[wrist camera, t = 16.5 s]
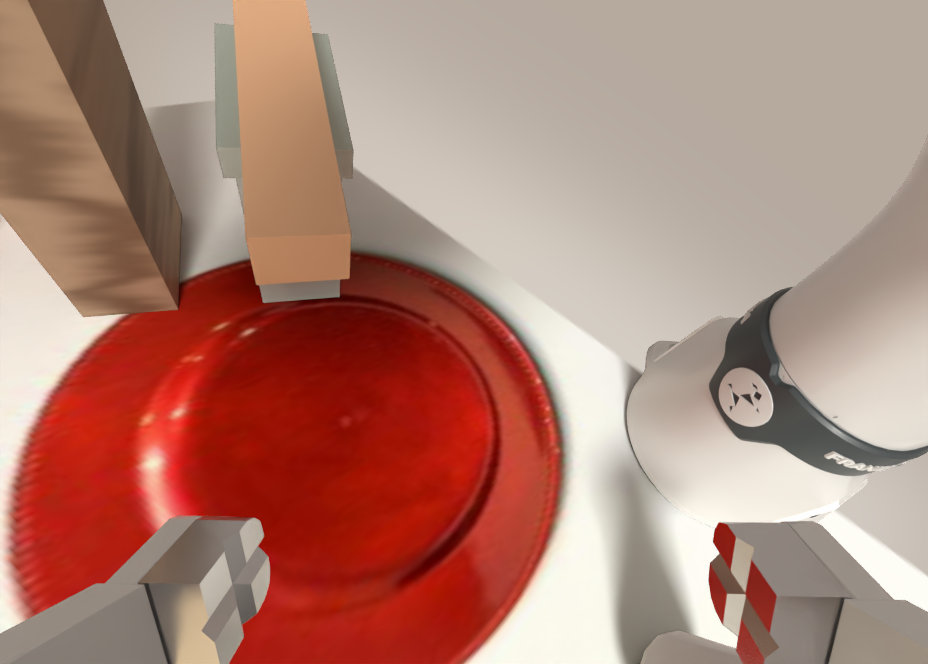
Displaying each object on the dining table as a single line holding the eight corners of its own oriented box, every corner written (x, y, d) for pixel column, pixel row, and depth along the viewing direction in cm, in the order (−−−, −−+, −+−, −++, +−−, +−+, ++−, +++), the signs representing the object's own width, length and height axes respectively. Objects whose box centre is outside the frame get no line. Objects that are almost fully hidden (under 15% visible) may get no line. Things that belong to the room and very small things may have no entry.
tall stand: (188, 205, 41) (29, -256, 20) (185, 319, 35) (-42, -153, 14) (92, 207, 39) (-204, -313, 17) (73, 329, 33) (-399, -217, 12)
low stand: (329, 203, 45) (327, 34, 32) (347, 306, 39) (353, 150, 27) (250, 204, 43) (214, 23, 30) (256, 313, 37) (216, 147, 24)
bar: (300, 9, 33) (297, -41, 31) (349, 278, 22) (351, 233, 19) (238, 2, 32) (230, -51, 29) (256, 285, 21) (245, 237, 18)
